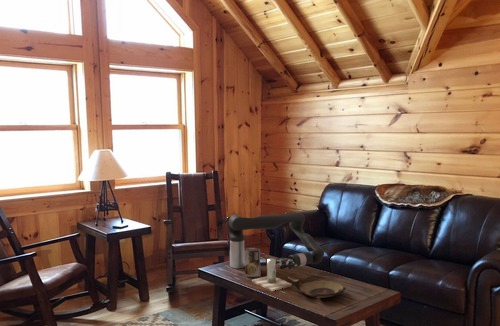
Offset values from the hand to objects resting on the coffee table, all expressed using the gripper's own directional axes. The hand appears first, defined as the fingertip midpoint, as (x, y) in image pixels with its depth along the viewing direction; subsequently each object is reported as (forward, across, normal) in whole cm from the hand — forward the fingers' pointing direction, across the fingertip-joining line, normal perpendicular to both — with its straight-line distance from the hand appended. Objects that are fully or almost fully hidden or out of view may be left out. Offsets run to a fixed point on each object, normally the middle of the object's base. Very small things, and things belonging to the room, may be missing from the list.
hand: (275, 265), depth 248 cm
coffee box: (+3, -19, +10) cm, 22 cm away
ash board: (+3, 0, +10) cm, 11 cm away
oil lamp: (-7, +27, +10) cm, 30 cm away
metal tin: (+3, 0, +9) cm, 9 cm away
